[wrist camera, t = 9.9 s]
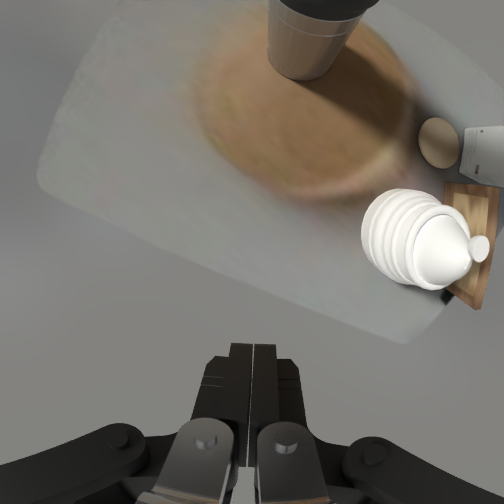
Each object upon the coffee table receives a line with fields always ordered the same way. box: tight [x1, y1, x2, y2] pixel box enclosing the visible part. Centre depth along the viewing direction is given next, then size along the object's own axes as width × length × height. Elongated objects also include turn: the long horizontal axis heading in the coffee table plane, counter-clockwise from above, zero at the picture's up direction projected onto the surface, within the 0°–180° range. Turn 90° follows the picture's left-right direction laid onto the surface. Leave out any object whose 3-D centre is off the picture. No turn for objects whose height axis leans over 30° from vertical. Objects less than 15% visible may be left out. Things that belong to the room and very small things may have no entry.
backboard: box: [444, 182, 500, 310], centre depth 32 cm, size 16×1×12 cm, turn 179°
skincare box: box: [459, 126, 504, 188], centre depth 28 cm, size 8×6×15 cm
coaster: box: [418, 117, 460, 168], centre depth 34 cm, size 8×8×1 cm
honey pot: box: [361, 189, 489, 290], centre depth 30 cm, size 13×13×18 cm
